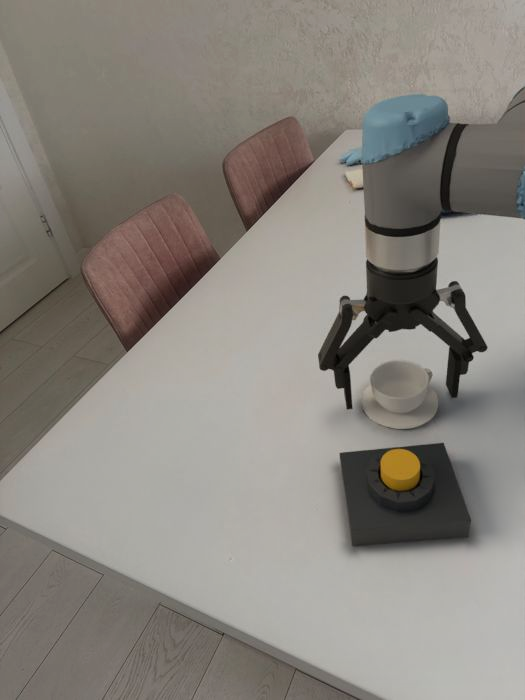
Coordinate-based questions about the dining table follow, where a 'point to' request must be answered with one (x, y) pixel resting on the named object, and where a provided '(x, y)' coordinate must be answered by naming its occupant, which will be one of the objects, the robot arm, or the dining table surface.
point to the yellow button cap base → (403, 499)
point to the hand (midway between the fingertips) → (399, 396)
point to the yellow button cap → (400, 469)
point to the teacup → (400, 395)
